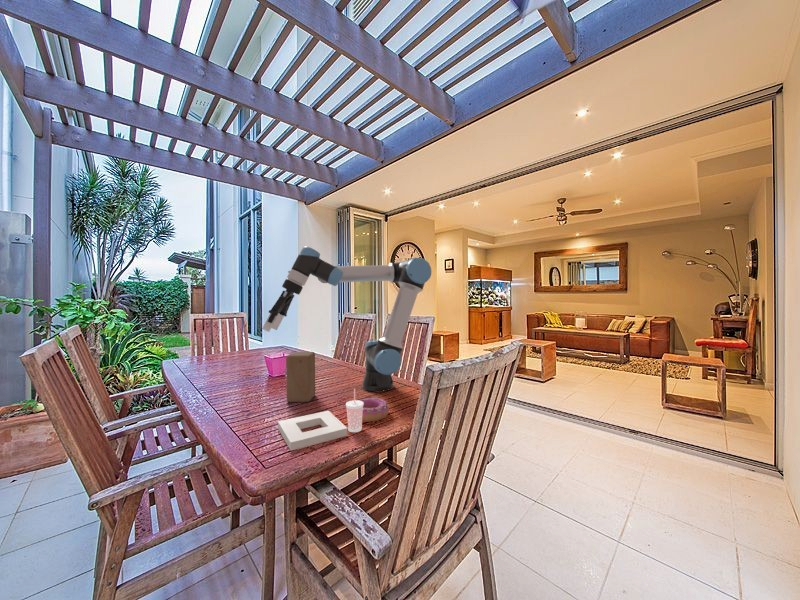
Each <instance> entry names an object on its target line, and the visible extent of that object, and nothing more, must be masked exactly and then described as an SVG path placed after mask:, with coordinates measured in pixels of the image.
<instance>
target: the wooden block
mask: <svg viewBox="0 0 800 600" xmlns="http://www.w3.org/2000/svg"><path fill="white" fill-rule="evenodd" d="M285 367H286V368H285V369H286V370H285V371H286V372H285V375H286V378H285V379H286V402H288V403H309V402H310V401H312V399H313V398H314V397H315V396H316V353H315V352H314V351H294V352H292V353H289V354H287V356H286V357H285Z"/></svg>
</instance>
